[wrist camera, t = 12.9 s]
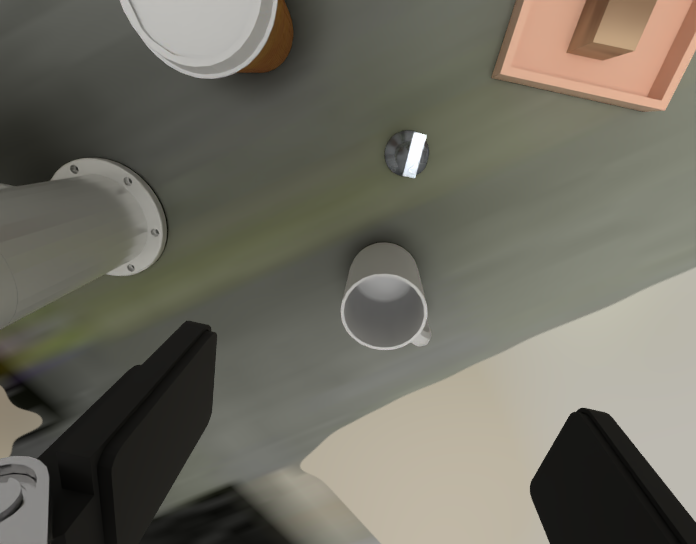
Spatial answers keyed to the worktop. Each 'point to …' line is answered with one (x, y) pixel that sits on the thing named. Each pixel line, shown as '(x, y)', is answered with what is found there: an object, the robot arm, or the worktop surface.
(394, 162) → the grey piece
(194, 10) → the disposable coffee cup
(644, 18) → the brown square frame
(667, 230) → the worktop surface
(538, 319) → the worktop surface
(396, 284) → the cup
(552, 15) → the tray
